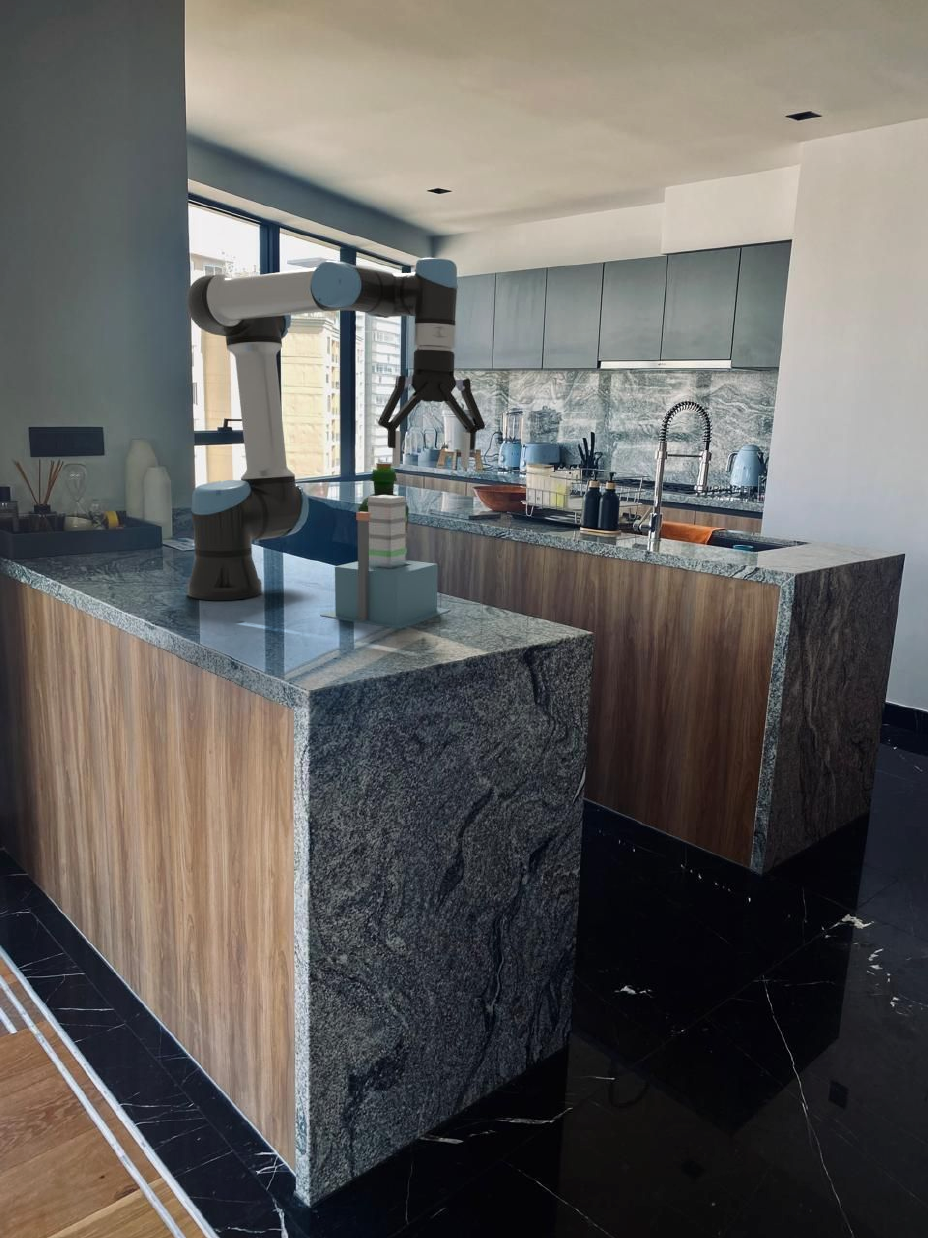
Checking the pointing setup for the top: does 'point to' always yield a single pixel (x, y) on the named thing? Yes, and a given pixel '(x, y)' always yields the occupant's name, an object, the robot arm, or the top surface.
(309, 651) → the top surface
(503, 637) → the top surface
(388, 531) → the column
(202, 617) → the top surface
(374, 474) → the bottle
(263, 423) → the robot arm
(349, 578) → the stand base
